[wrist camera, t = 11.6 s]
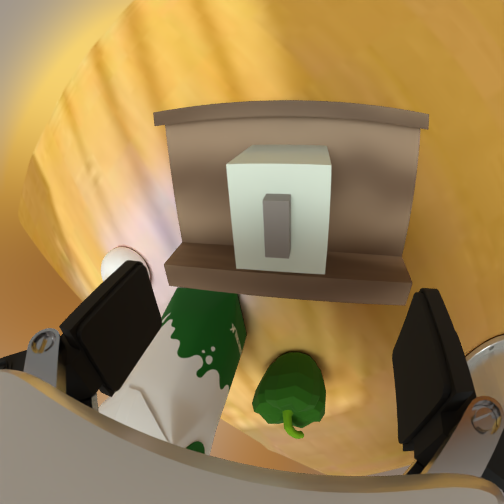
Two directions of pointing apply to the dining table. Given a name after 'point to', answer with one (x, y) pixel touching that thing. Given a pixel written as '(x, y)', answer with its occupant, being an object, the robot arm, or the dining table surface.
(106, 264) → the garlic bulb
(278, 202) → the cabinet
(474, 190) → the dining table surface
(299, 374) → the bell pepper
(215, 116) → the shelf
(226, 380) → the milk carton
